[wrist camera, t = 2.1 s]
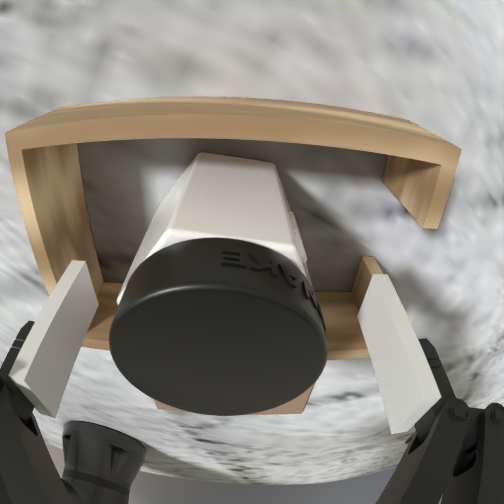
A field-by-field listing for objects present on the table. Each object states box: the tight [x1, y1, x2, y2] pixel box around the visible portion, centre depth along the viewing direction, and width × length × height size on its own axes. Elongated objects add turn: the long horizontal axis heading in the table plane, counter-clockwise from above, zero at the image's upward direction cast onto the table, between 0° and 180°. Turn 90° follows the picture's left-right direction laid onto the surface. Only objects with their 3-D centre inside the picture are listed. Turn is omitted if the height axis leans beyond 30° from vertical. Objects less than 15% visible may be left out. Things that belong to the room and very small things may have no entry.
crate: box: [5, 97, 462, 360], centre depth 18 cm, size 15×22×6 cm
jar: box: [109, 152, 328, 416], centre depth 16 cm, size 9×8×12 cm
